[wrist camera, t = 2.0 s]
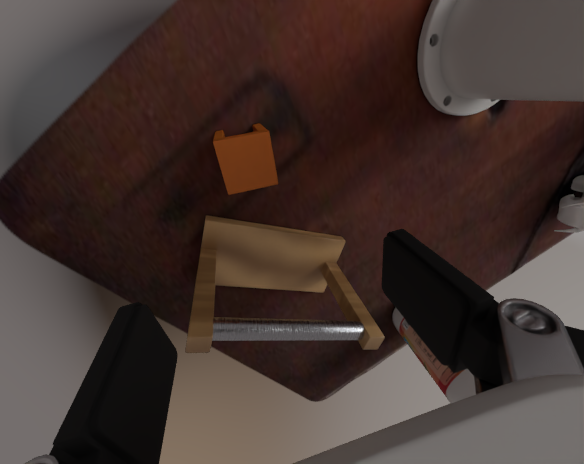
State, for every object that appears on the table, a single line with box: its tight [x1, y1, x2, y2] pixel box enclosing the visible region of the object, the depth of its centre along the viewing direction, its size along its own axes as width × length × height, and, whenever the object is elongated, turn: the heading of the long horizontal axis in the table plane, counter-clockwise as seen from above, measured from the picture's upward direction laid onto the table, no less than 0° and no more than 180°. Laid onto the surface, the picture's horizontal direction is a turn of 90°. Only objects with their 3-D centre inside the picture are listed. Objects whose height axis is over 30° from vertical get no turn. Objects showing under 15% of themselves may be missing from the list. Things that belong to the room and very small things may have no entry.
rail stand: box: [185, 215, 385, 353], centre depth 24 cm, size 8×16×12 cm, turn 73°
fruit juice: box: [392, 307, 476, 403], centre depth 29 cm, size 9×9×28 cm
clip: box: [213, 123, 278, 195], centre depth 21 cm, size 4×4×6 cm
